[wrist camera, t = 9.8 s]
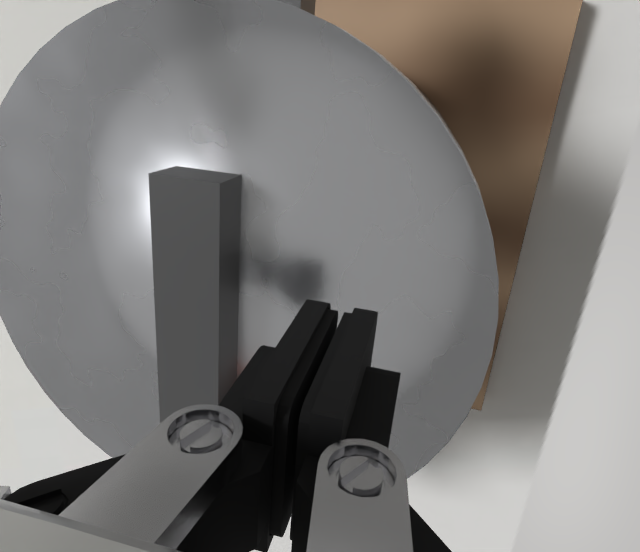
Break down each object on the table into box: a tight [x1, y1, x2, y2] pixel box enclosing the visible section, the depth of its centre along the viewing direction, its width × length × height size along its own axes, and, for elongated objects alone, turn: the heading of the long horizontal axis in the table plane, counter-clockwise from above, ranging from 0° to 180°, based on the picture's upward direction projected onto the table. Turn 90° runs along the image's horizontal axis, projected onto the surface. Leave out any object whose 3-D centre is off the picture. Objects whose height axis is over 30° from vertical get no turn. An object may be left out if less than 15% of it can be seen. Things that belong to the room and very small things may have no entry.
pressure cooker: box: [277, 0, 583, 410], centre depth 23 cm, size 25×22×13 cm
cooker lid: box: [0, 0, 499, 516], centre depth 16 cm, size 17×19×4 cm
